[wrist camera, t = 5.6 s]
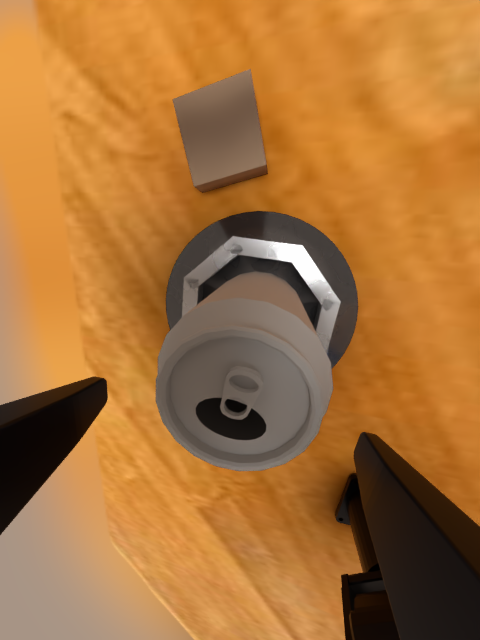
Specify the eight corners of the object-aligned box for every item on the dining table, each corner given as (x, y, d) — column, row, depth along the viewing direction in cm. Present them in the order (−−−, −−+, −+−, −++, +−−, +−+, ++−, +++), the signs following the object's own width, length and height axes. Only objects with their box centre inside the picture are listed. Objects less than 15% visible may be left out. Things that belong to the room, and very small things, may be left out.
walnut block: (267, 173, 17) (266, 164, 15) (202, 192, 18) (193, 186, 16) (253, 90, 16) (250, 69, 14) (184, 115, 17) (172, 99, 15)
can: (204, 341, 21) (124, 452, 10) (225, 258, 19) (151, 278, 7) (284, 367, 21) (298, 513, 9) (317, 286, 18) (388, 353, 7)
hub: (328, 409, 22) (332, 423, 20) (165, 376, 24) (156, 386, 22) (383, 226, 17) (395, 224, 15) (171, 200, 18) (160, 195, 17)
